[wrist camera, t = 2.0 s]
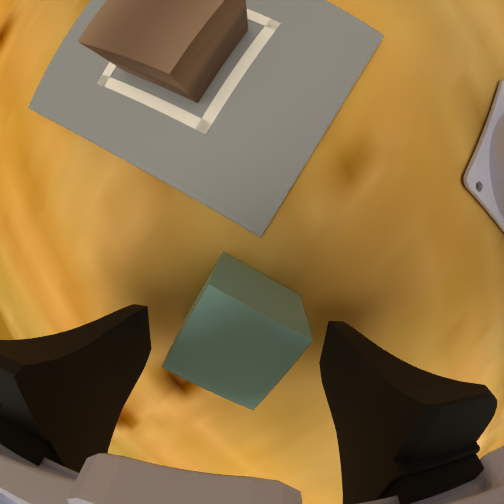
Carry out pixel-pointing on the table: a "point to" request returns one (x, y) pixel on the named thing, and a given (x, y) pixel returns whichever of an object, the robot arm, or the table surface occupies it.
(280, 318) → the teal block
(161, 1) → the walnut block
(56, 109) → the slate board
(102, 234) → the table surface
